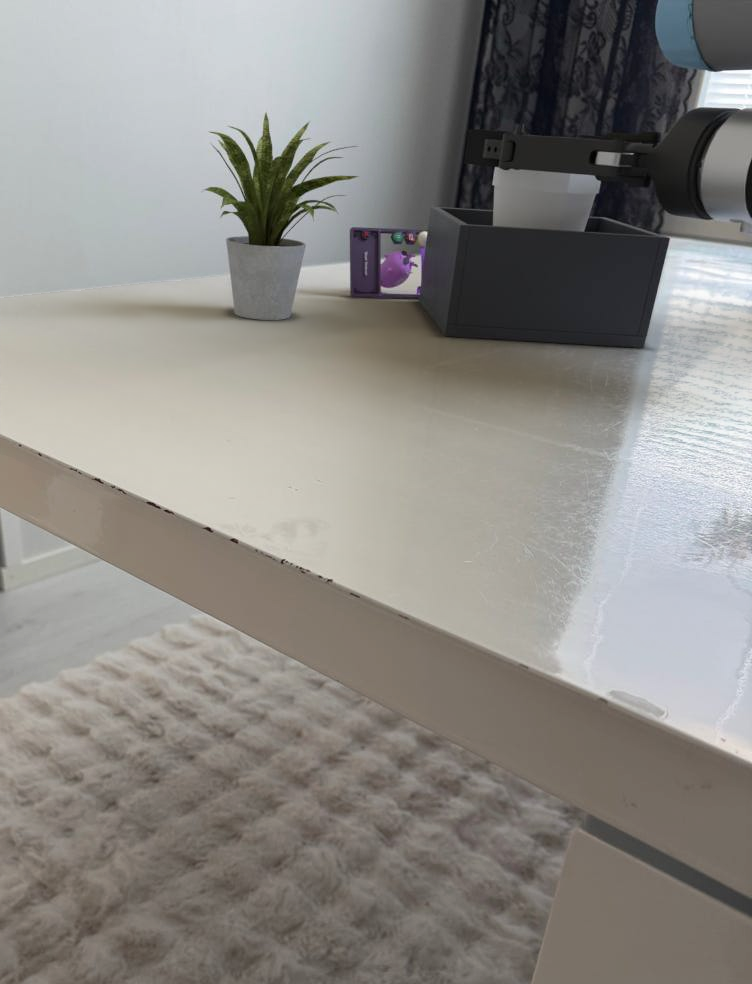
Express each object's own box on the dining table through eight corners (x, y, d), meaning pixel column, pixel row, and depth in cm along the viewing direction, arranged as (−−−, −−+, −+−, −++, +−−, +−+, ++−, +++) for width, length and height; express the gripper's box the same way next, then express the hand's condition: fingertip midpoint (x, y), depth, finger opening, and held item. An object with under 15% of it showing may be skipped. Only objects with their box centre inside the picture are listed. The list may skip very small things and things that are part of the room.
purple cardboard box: (353, 225, 97) (435, 228, 99) (337, 237, 102) (416, 240, 104) (353, 294, 98) (435, 296, 100) (338, 303, 103) (416, 305, 105)
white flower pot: (536, 302, 96) (563, 158, 90) (595, 321, 89) (628, 165, 82) (455, 303, 93) (476, 153, 87) (508, 322, 85) (536, 160, 79)
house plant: (285, 340, 78) (300, 112, 70) (150, 315, 84) (150, 102, 76) (364, 318, 89) (384, 118, 81) (239, 297, 95) (247, 109, 87)
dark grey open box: (586, 311, 99) (606, 217, 95) (643, 348, 84) (670, 237, 80) (418, 301, 99) (430, 206, 95) (444, 336, 83) (460, 224, 79)
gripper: (600, 221, 67) (413, 192, 83) (811, 220, 79) (612, 195, 94) (625, 98, 63) (424, 93, 79) (842, 116, 75) (630, 108, 91)
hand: (526, 148), depth 87 cm, fingers open, 13 cm apart
